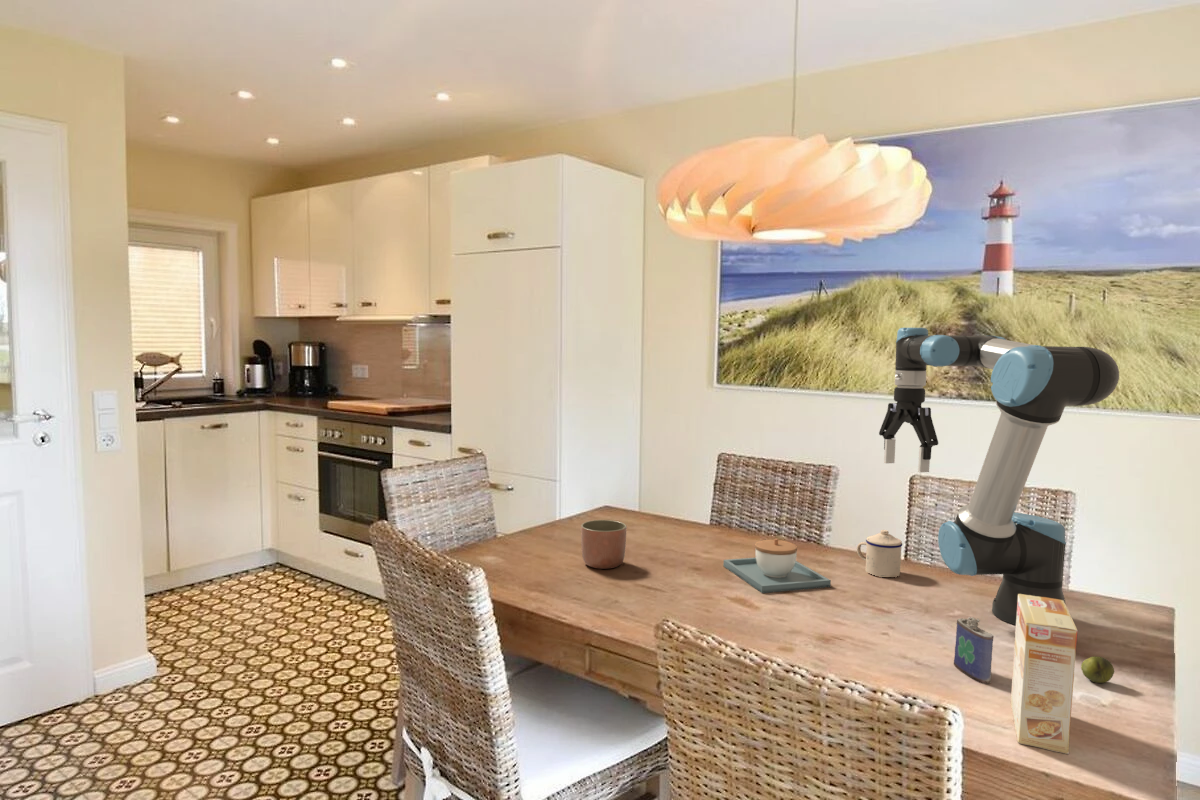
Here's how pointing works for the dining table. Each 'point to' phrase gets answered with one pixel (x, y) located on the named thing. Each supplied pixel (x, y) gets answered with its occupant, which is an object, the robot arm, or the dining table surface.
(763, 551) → the lidded jar
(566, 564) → the dining table surface
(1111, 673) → the lime
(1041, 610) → the coffeecake box
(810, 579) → the tray
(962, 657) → the flask
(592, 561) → the planter
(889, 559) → the teacup with lid
